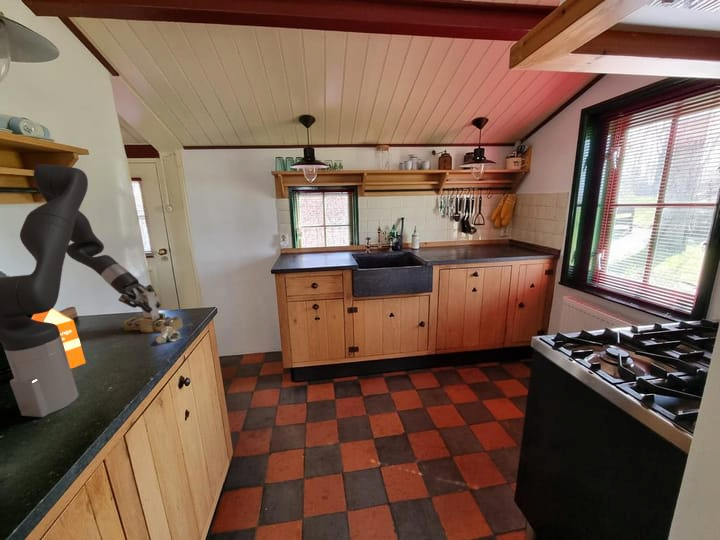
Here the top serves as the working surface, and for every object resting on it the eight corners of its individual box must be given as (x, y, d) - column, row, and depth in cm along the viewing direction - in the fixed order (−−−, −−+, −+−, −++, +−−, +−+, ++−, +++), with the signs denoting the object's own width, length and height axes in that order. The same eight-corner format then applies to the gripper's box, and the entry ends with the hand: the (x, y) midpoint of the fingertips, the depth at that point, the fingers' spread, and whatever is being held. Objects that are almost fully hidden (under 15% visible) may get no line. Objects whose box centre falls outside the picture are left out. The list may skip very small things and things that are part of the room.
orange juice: (74, 356, 98) (57, 298, 93) (86, 362, 94) (69, 302, 89) (41, 368, 92) (21, 307, 87) (52, 375, 87) (32, 312, 83)
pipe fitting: (160, 348, 103) (181, 339, 108) (157, 338, 102) (178, 329, 107) (152, 341, 109) (173, 333, 113) (149, 331, 107) (170, 324, 112)
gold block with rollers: (172, 333, 113) (169, 321, 112) (122, 331, 116) (119, 319, 115) (184, 325, 120) (182, 313, 119) (137, 323, 123) (135, 312, 121)
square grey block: (152, 321, 115) (147, 294, 112) (144, 321, 116) (138, 294, 113) (159, 318, 118) (154, 291, 116) (151, 317, 119) (146, 291, 116)
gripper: (107, 277, 106) (144, 310, 108) (140, 267, 120) (173, 296, 121) (97, 291, 108) (134, 323, 110) (131, 279, 122) (163, 308, 123)
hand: (154, 309), depth 116 cm, fingers closed on square grey block, 3 cm apart
